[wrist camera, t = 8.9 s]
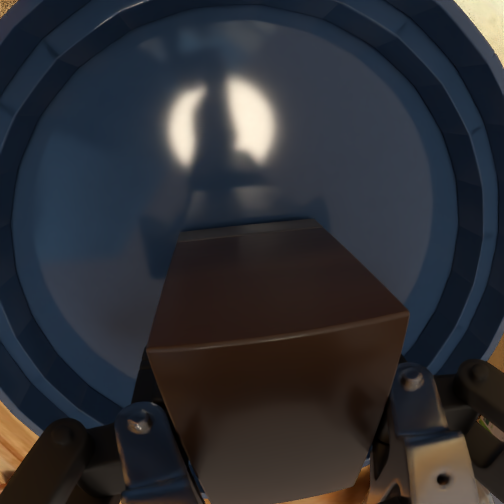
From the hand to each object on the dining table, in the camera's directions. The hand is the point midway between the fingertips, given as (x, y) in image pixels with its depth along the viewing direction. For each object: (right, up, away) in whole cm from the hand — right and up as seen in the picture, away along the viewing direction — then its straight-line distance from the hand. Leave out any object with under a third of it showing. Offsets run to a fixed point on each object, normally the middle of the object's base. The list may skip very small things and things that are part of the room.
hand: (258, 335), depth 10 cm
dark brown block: (0, 0, +1) cm, 1 cm away
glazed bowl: (0, +2, +2) cm, 3 cm away
